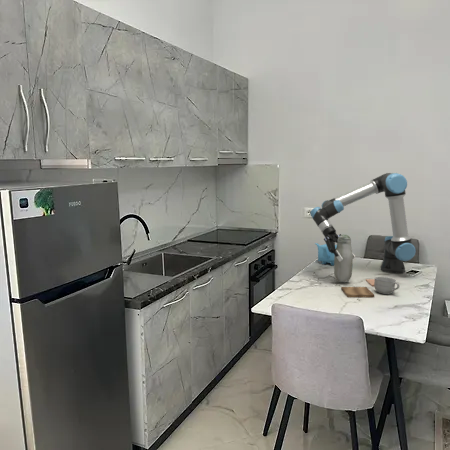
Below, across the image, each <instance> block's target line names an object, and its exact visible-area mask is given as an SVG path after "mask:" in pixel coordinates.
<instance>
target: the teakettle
mask: <svg viewBox="0 0 450 450" xmlns="http://www.w3.org/2000/svg"><path fill="white" fill-rule="evenodd" d="M314 245H316V247H317V261H318V262H321V264H322V265H327V263H328V264H330V266H333V267H334V256H335V255H334V253H331V252H329V250H328V247H327V245H326V243H325V244H319V243H316V242H314ZM336 247H337V244H335V248H336Z"/></svg>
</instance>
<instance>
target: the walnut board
mask: <svg viewBox="0 0 450 450" xmlns="http://www.w3.org/2000/svg"><path fill="white" fill-rule="evenodd" d="M340 289H341V292H343V294H344V295H345V296H346V298H365V299H366V298H373V299H374V298H375V293H373V291H371V290H370V288H368V287H367V286H365V287H364V286H341V287H340Z"/></svg>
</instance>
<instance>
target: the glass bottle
mask: <svg viewBox="0 0 450 450" xmlns="http://www.w3.org/2000/svg"><path fill="white" fill-rule="evenodd" d="M336 245H337V247H336V250H337V251H338V252H339V254H340V255H341V257H342V258H343V260H342V261H341V262H339V260H338V259H337V257H336V256H334V266H333V272H334V273H333V275H334V278H335V280H336V281H337V282H339V283H347V282H350V280H351V278H352V276H353V275H352V274H353V261H354V259H353V254H354V253H353V254H352V252H353V249H352V239H351V237H350V236H349V235H347V234H341V236H339V238H338V242H337V243H336Z"/></svg>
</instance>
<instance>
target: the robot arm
mask: <svg viewBox="0 0 450 450" xmlns="http://www.w3.org/2000/svg"><path fill="white" fill-rule="evenodd" d="M407 187H408V180H407V178H406V177H405V176H404V175H402V174H401V173H397V172H396V173H395V172H386V173H384V174H381V175H379V176H377V177H375V178H372V179H371V180H370V181H369V182H368V183H366V184H363V185H362V186H359V187H356V188H354V189H352V190H350V191H347V192H345V193H343V194H340V195H339V196H338V195H337V196H336V197H333V198H331V199H328V200H324V201H323V202H322V203H321V207H320V206H316V207H313V208H312V209H311V211H310V213H309V215H310V216H311V218H312V220H313V221H314V223H315V224H316V225H317V227H318V229H319V230H320V232H321V233H322V235H323V236H324V238H323V240H324V242H325V244H326V245H327V247H328V250H329V252H331V253H334V255H335V256H336V257H337V259H338V260H339V262H341V261H342V260H343V258H342V257H341V255H340V254H339V252H338V251H337V250H336V248H335V245H336V244H337V242H338V238H339V236H341V235H342V234H341V233H339V234H337V230H336V229H335V227H334V226H333V224H332V223H331V221H330V220H329V219H330V218H332V217H334V216H336V215H338V214H339V213H341V212H342V211H344V209H345V206H348V205H351V204H353V203H355V202H357V201H360V200H363V199H365V198H367V197H369V196H371V195H373V194H375V195H378V194H381V193H384V196H385V198H386V199H388V200H387V201H388V207H389V214H390V215H389V216H390V222H391V229H392V235H386V236H385V238H384V245H383V246H384V247H383V259H382V261H381V264H380V266H379V267H380V268H379V269H380V271H381V272H384V273H388V274H389V273H390V274H403V273H405V272H406V267H405V264H404V263H405V262H408V261H411V260H412V259H413V258H414V257H415V255H416V253H417V252H416V251H417V250H416V247H415V245H414V244H413V243H412V242H413V241H412V236H410V235H409V233H408V224H407V215H406V207H405V202H404V201H405V200H404V197H405V196H406V193H407V192H406V189H407ZM352 254H353V260H354V259H355V258H356V255H355V254H354V252H353V251H352Z"/></svg>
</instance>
